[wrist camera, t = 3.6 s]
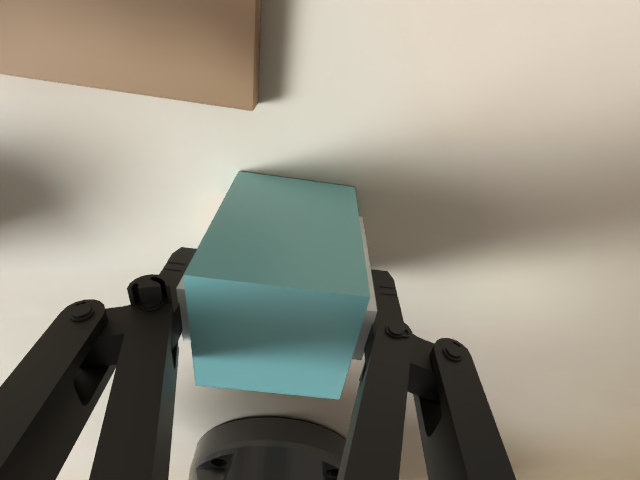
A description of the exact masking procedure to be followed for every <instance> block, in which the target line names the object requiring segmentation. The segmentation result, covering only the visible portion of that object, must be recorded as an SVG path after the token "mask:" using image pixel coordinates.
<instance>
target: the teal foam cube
mask: <svg viewBox="0 0 640 480" xmlns="http://www.w3.org/2000/svg"><path fill="white" fill-rule="evenodd" d="M183 277H184V286H185V295H186V303H187V312H188V321H189V330H190V339H191V348H192V357H193V366H194V374H195V383H196V385H197V386H207V387H217V388H227V389H238V390H248V391H258V392H268V393H278V394H288V395H298V396H308V397H318V398H328V399H340V396H341V392H342V389H343V386H344V383H345V379H346V376H347V373H348V369H349V366H350V363H351V359H352V356H353V353H354V349H355V346H356V343H357V339H358V336H359V333H360V329H361V326H362V323H363V320H364V316H365V313H366V310H367V306H368V303H369V300H370V291H369V284H368V277H367V270H366V262H365V255H364V248H363V241H362V234H361V226H360V219H359V212H358V205H357V198H356V190H355V187H352V186H345V185H337V184H330V183H323V182H315V181H308V180H300V179H293V178H286V177H278V176H271V175H264V174H256V173H249V172H242V171H239V172H238V174H237V176H236V177H235V179H234V181H233V183H232V185H231V187H230V189H229V190H228V192H227V194H226V196H225V198H224V200H223V202H222V204H221V205H220V207H219V209H218V211H217V213H216V215H215V217H214V219H213V220H212V222H211V224H210V226H209V228H208V230H207V232H206V233H205V235H204V237H203V239H202V241H201V243H200V245H199V247H198V248H197V250H196V252H195V254H194V256H193V258H192V260H191V262H190V263H189V265H188V267H187V269H186V271H185V273H184V275H183Z"/></svg>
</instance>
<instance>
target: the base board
mask: <svg viewBox="0 0 640 480" xmlns="http://www.w3.org/2000/svg"><path fill="white" fill-rule="evenodd" d="M260 21H261V0H0V74H4V75H11V76H17V77H24V78H31V79H38V80H45V81H51V82H58V83H65V84H72V85H79V86H86V87H92V88H99V89H106V90H113V91H120V92H127V93H133V94H140V95H147V96H154V97H161V98H168V99H174V100H181V101H188V102H195V103H202V104H208V105H215V106H222V107H229V108H236V109H243V110H249V111H253V110H254V108H255V107H256V105H257V104H258V81H259V51H260Z"/></svg>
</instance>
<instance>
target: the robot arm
mask: <svg viewBox="0 0 640 480" xmlns="http://www.w3.org/2000/svg"><path fill="white" fill-rule="evenodd" d="M359 219H360V226H361V234H362V241H363V248H364V255H365V262H366V270H367V277H368V284H369V291H370V300H369V303H368V306H367V310H366V313H365V316H364V320H363V323H362V326H361V329H360V333H359V336H358V339H357V343H356V346H355V349H354V353H353V356H352V359H357V360H362V357H363V354H364V353H365V364H364V367H363V370H362V373H361V376H360V379H359V381H360V383H359V388H358V392H357V396H356V400H355V405H354V409H353V413H352V417H351V422H350V426H349V430H348V434H347V439H346V440H345V439H344V438H343V437H341V436H340V435H338V434H337V433H335V432H333V431H331V430H329V429H326V428H324V427H321V426H318V425H315V424H312V423H308V422H304V421H299V420H293V419H286V418H271V417H263V418H249V419H242V420H236V421H232V422H229V423H225V424H222V425H220V426H218V427H215V428H213V429H212V430H210V431H208V432H207V433H206V434H205V435H204V436H203V437H202V438H201V439H200V440H199V442H198V444H197V447H196V451H195V454H194V458H193V461H192V464H191V468H190V473H189V480H399V470H400V460H401V450H402V440H403V430H404V420H405V410H406V400H407V391H408V392H410V393H413V395H414V401H415V407H416V412H417V418H418V423H419V429H420V434H421V440H422V446H423V451H424V457H425V462H426V468H427V473H428V479H429V480H516V478H515V475H514V472H513V470H512V467H511V464H510V461H509V459H508V456H507V453H506V450H505V448H504V445H503V442H502V439H501V437H500V434H499V431H498V428H497V426H496V423H495V420H494V417H493V415H492V412H491V409H490V406H489V404H488V401H487V398H486V395H485V393H484V390H483V387H482V384H481V382H480V379H479V376H478V373H477V371H476V368H475V365H474V363H473V360H472V357H471V355H470V353H469V351H468V349H467V348H466V347H464V346H463V345H462V344H461V343H459V342H458V341H456V340H453V339H450V338H441V339H439V340H437V341H436V343H435V344H434V343H431V342H429V341H426V340H423V339H421V338H419V337H417V336H415V335H414V334H412V331H411V329H410V328H409V326H408V325H406V324H405V323H404V321H403V317H402V313H401V308H400V304H399V300H398V297H397V291H396V287H395V283H394V279H393V278H392V277H391V275H390V274H389V273H388V271H380V270H372V269H371V267H370V261H369V255H368V248H367V242H366V235H365V229H364V223H363V217H361V216H359ZM196 250H197V249H193V248H184V247H181V248H180V249H178V250H177V251H175V252H174V253H173V254H172V255H171V257H170V258H169V260H168V261H167V263H166V265H165V266H164V268H163V270H162V271H161V273H160V274H159V275H152V274H151V275H145V276H142V277H139V278H137V279H135V280H134V281H132V282H131V283H130V284H129V286H128V288H127V290H128V295H129V299H130V303H131V305H128V306H123V307H116V308H108V309H105V307H104V304H102V303H101V302H100V301H97V300H93V299H92V300H82V301H78V302H75V303H73V304H71V305H69V306H67V307H66V308H65V309H64V310H63V311H62V312H61V313H60V314H59V315H58V316H57V318H56V319H55V320H54V321H53V323H52V324H51V325H50V326H49V328H48V329H47V330H46V331H45V332H44V334H43V335H42V336H41V337H40V339H39V340H38V341H37V342H36V344H35V345H34V346H33V347H32V348H31V350H30V351H29V352H28V353H27V355H26V356H25V357H24V358H23V360H22V361H21V362H20V363H19V364H18V366H17V367H16V368H15V369H14V371H13V372H12V373H11V374H10V376H9V377H8V378H7V379H6V380H5V382H4V383H3V384H2V385H1V387H0V480H56V478H57V476H58V474H59V472H60V470H61V468H62V467H63V465H64V463H65V461H66V459H67V457H68V455H69V454H70V452H71V450H72V448H73V446H74V444H75V443H76V441H77V439H78V437H79V435H80V433H81V431H82V430H83V428H84V426H85V424H86V422H87V420H88V418H89V417H90V415H91V413H92V411H93V409H94V407H95V405H96V404H97V402H98V400H99V398H100V396H101V394H102V392H103V391H104V389H105V387H106V385H107V383H108V381H109V380H110V378H111V376H112V374H113V372H114V370H115V368H116V371H115V375H114V379H113V383H112V387H111V392H110V396H109V400H108V404H107V408H106V412H105V416H104V421H103V425H102V429H101V433H100V437H99V441H98V445H97V449H96V454H95V458H94V462H93V466H92V470H91V474H90V478H89V480H168V475H169V463H170V451H171V439H172V427H173V415H174V403H175V391H176V379H177V367H178V355H179V347H178V340H179V338H180V335H181V333H182V337H183V341H186V342H191V339H190V330H189V321H188V312H187V303H186V295H185V286H184V277H183V275H184V273H185V271H186V269H187V267H188V265H189V263H190V262H191V260H192V258H193V256H194V254H195V252H196Z"/></svg>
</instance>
